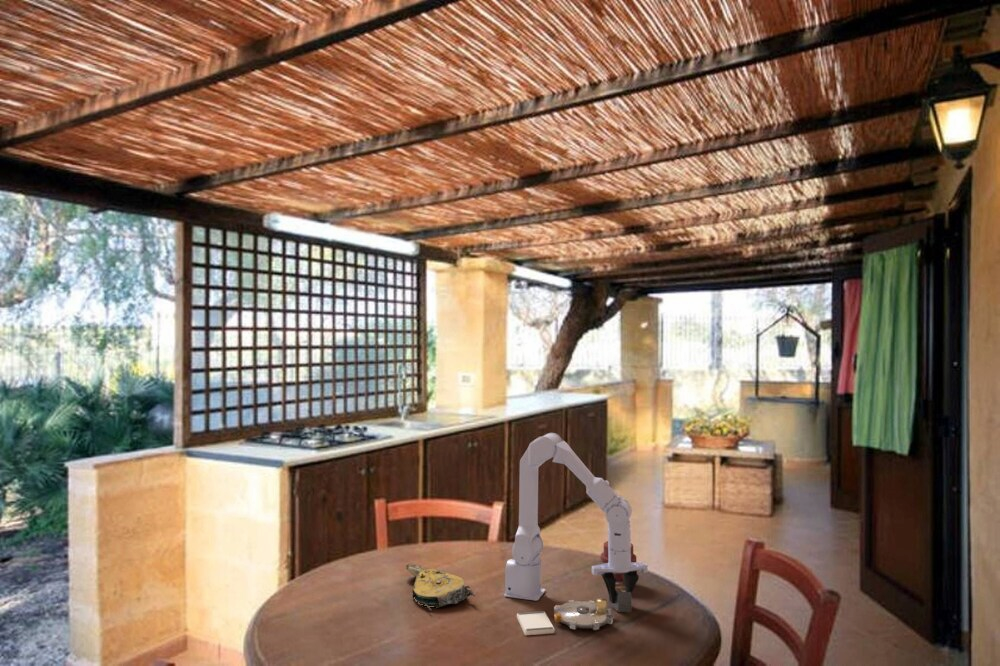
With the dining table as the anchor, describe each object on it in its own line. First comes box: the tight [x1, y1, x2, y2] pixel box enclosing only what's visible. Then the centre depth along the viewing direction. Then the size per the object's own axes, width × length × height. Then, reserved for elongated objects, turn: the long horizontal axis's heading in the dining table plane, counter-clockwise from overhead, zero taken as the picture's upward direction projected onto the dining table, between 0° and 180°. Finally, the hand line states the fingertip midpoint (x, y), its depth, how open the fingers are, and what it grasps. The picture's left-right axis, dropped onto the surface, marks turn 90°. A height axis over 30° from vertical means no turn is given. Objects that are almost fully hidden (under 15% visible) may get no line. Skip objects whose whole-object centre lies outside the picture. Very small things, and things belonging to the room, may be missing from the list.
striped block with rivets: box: [608, 582, 632, 613], centre depth 163 cm, size 7×4×5 cm, turn 10°
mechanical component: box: [600, 541, 637, 584], centre depth 179 cm, size 12×10×10 cm
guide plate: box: [516, 610, 556, 636], centre depth 152 cm, size 10×7×1 cm
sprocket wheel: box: [553, 597, 614, 631], centre depth 154 cm, size 15×15×4 cm
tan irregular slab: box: [405, 563, 476, 611], centre depth 173 cm, size 14×6×30 cm
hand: (619, 601), depth 162 cm, fingers closed on striped block with rivets, 3 cm apart
